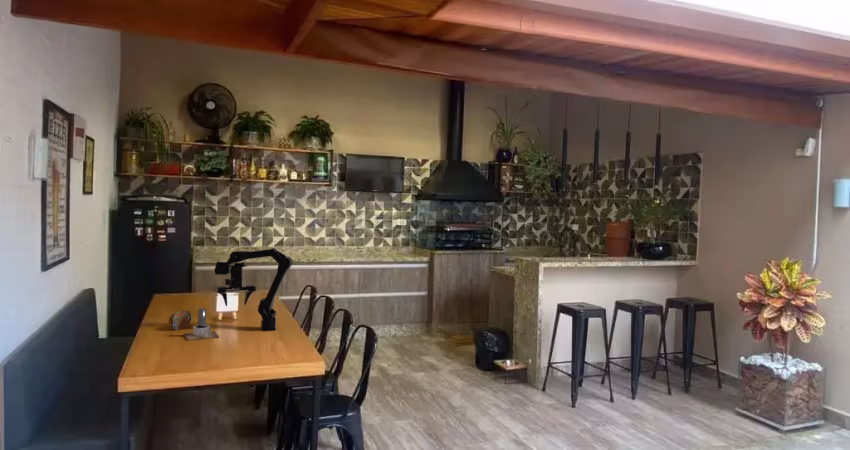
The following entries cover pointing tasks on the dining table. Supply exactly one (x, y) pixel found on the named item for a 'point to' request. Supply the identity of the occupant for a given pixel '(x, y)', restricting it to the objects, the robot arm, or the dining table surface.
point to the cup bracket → (201, 331)
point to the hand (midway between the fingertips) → (235, 305)
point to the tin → (179, 320)
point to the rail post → (201, 318)
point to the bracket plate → (190, 337)
